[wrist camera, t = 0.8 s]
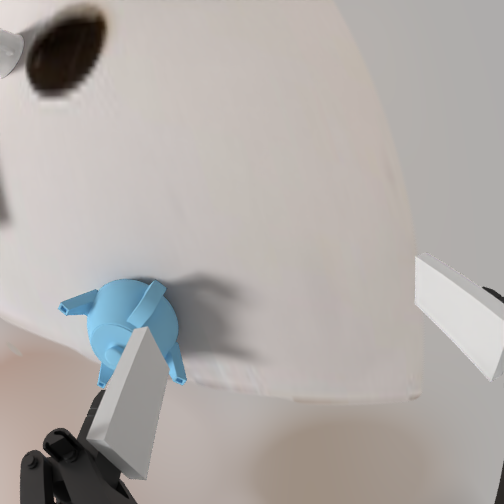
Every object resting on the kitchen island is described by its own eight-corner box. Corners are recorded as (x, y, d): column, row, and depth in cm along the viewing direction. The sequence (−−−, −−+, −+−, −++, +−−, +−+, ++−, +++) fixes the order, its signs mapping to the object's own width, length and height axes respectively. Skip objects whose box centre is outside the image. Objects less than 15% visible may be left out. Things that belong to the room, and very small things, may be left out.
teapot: (195, 351, 44) (188, 400, 34) (114, 357, 44) (94, 399, 34) (170, 264, 39) (151, 301, 29) (81, 277, 39) (47, 311, 29)
